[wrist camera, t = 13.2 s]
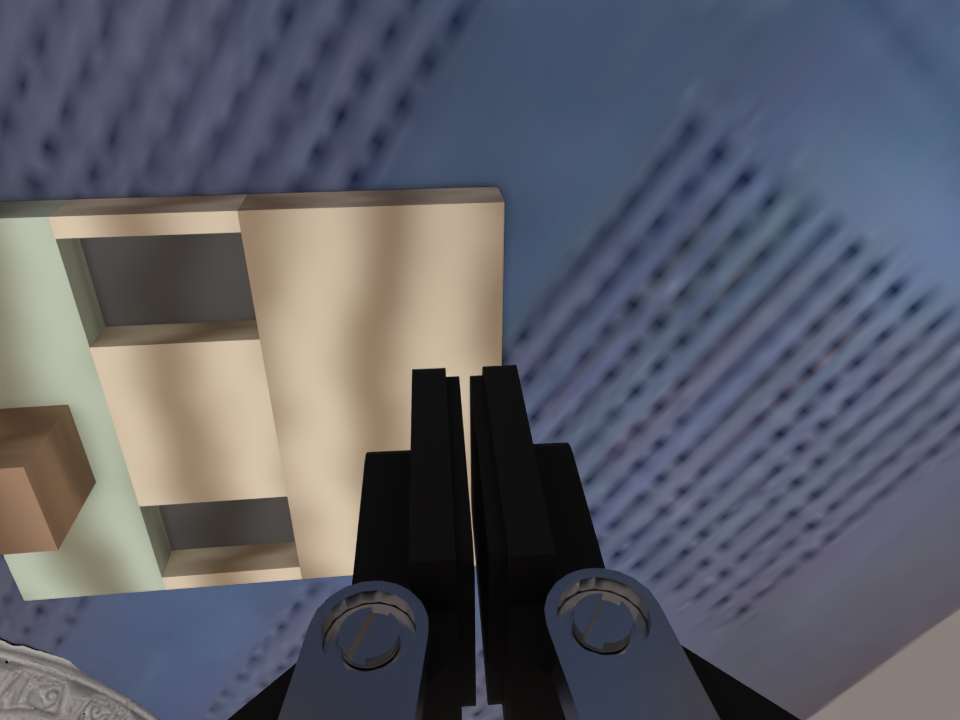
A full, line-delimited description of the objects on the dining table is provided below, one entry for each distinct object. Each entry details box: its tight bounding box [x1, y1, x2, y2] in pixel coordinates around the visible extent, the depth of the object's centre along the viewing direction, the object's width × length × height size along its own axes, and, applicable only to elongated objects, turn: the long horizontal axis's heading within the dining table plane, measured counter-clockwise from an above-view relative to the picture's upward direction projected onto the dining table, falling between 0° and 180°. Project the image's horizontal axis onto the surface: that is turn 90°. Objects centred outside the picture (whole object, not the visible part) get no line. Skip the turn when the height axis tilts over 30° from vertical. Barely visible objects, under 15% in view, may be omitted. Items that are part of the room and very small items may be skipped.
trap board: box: [0, 187, 504, 601], centre depth 38 cm, size 28×23×2 cm
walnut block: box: [0, 405, 96, 555], centre depth 34 cm, size 5×5×5 cm
